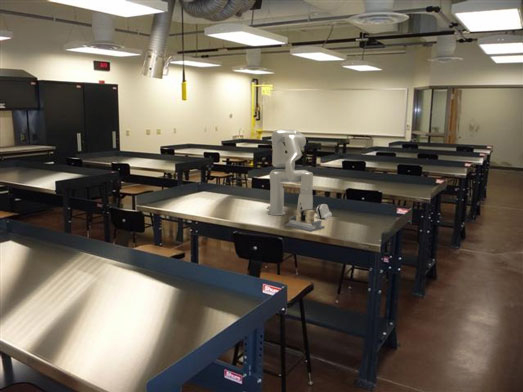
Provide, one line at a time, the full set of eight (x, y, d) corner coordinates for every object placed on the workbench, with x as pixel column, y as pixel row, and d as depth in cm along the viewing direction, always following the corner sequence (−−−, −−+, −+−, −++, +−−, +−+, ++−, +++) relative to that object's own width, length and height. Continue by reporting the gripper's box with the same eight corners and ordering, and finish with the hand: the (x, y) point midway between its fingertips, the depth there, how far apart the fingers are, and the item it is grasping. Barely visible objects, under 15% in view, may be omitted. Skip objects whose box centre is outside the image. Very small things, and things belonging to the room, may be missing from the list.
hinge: (325, 219, 305) (321, 205, 305) (319, 221, 307) (314, 207, 307) (332, 215, 320) (328, 201, 320) (326, 216, 322) (322, 203, 322)
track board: (285, 225, 287) (285, 217, 286) (299, 222, 296) (299, 214, 296) (310, 231, 273) (310, 223, 272) (324, 228, 283) (324, 219, 282)
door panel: (296, 222, 287) (296, 208, 286) (299, 221, 290) (299, 207, 288) (310, 225, 279) (311, 211, 278) (313, 225, 281) (314, 210, 280)
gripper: (309, 189, 289) (308, 217, 292) (293, 192, 278) (291, 221, 281) (319, 191, 284) (317, 219, 287) (302, 194, 272) (301, 223, 276)
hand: (304, 220), depth 284 cm, fingers closed on door panel, 3 cm apart
